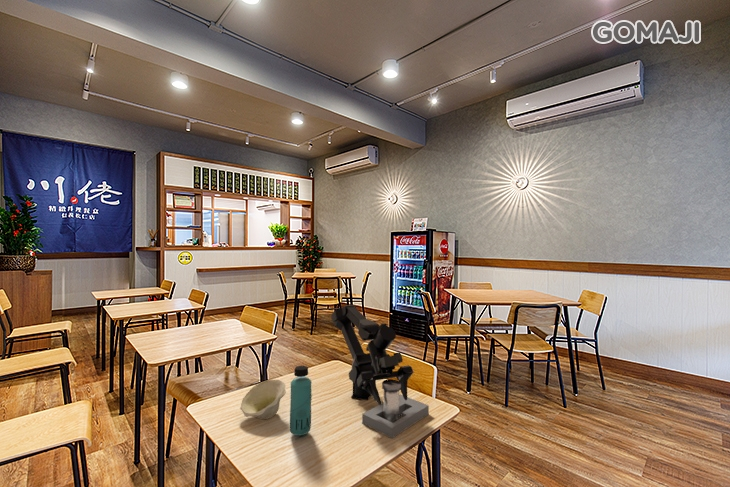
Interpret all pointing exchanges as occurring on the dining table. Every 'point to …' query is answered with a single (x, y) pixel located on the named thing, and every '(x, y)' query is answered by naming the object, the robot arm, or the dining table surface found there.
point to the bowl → (263, 399)
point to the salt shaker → (391, 400)
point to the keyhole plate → (410, 415)
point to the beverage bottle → (300, 402)
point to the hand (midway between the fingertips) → (393, 402)
